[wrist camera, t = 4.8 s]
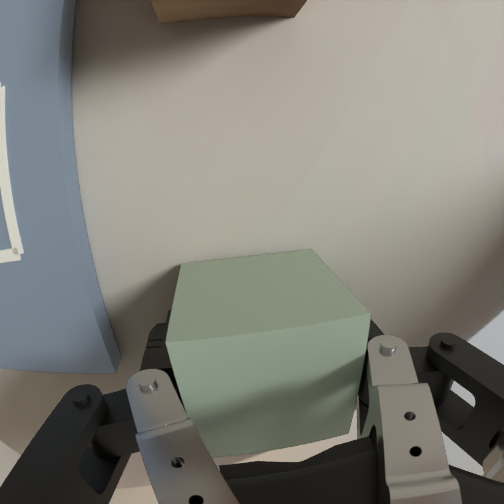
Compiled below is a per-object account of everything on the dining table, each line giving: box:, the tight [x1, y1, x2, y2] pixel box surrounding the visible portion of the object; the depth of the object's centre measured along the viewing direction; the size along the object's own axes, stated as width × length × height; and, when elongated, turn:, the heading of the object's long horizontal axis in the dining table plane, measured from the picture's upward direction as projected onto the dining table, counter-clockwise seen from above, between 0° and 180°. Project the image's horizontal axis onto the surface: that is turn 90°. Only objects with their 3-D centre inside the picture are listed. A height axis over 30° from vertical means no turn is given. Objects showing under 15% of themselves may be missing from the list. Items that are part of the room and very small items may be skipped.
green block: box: [166, 249, 371, 457], centre depth 10 cm, size 5×5×5 cm
